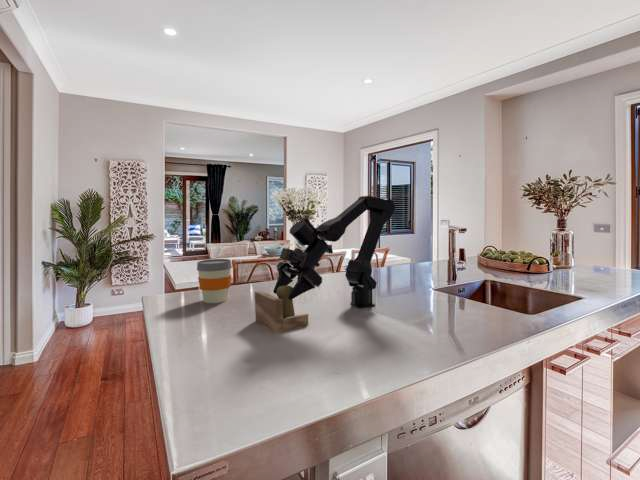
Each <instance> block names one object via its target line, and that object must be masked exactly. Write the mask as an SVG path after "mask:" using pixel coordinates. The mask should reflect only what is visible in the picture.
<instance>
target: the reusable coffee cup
mask: <svg viewBox="0 0 640 480" xmlns="http://www.w3.org/2000/svg"><path fill="white" fill-rule="evenodd" d="M231 269H232V261H231V259H230V258H229V259H227V258H212V259H204V260H199V261H197V263H196V270H197V272H198V277H197V278H198V284H199V289H200V290H201V293H202V298H203V303H205V304H220V303H221V304H222V303H225V302H226V301H229V292H230V288H231V283H232V274H231V272H232V271H231Z"/></svg>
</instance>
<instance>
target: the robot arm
mask: <svg viewBox="0 0 640 480" xmlns="http://www.w3.org/2000/svg"><path fill="white" fill-rule="evenodd" d="M395 210H396V204H395V203H394V201H393V200H392V199H391V198H379V197H374V196H371V195H361V196H359V197H358V198H357V200H356V201H353V203H352V204H351V205H349V206H348V207H347V208H346V209H345V210H343V211H342V212H341V213H340V214H338V215H336V217H334V218H331V219H328V220H326V221H325V222H323V223H321V224H319V225H318V226H317V227H315V226H314V225H313V224H312V222H310V220H309V219H308V218H307V217H303V218H302V219H300V220H298V221H297V222H296V223H294V224H292V226H291V227H290V229H289V234H290V235H291V236H292V237H293V238H294V239H295V240H296V241H297V242H298V243H299V244H300V245H301V246H303V247H304V246H306V247H305V248H304V250H302V249H300V248H298V247H297V248H296V247H295V248H294V249H290V248H285V247H284V248H282V250H281V252H280V255H279V259H281V260H286V261H288V262H286V261H279V262H278V263H277V264H276V266H275V267H276V271H277V273H278V278H277V281H276V283H275V286H274V288H273V291H272V292H273V293H274V294H276V295H277V293H276V291H277V288H278V287H280V286H289V284H291V283H292V282H293V281H294V280H293V279H295V278H297V281H296V283H295V284H294V286H293V287H292V288H293V289H292V291H291V292H290V294H289V296H288V298H289V299H290V300H291V299H292V300H293V299H295V298H297V297H298V296H301V295H302V294H304V293H306V292H308V291H310V290H312V289H315V288H319V287H320V286H321V285H322V283H323V277H322V276H321V275H320V274H319V272H317V271H316V270H315V267H316V268H318V267H319V266H320V264H321V263H319V262H320V260H321V259H322V257H324V255H325V254H333V253H334V250H333V246H332V244H328V243H327V242H332V243H335V242H338V241H340V239H341V237H343V235H344V234H345V233H346V230H347V228H348V227H349V226H350V225H351V224H352V223H353V222H354V221H355V220H356V219H358V218H359V217H360V216H361V215H362V214H363V213H365V212H366V211H369V219H370V220H369V224H368V227H367V229H366V232H365V235H364V238H363V240H362V243H361V245H360V249H359V251H358V254H357V257H356V258H354V259H350V260H349V261H348V262H347V266H346V268H345V270H344V271H345V278H346V280H347V282H348V286H350V287H352V289H351V293H350V294H351V296H350V297H351V298H350V299H351V301H350V305H352V306H354V307H356V308H358V309H359V308H360V309H361V308H366V307H367V308H368V307H373V306H376V303H374V302H373V290H375V289H376V288H377V284H378V283H377V281H376V279H374V278H373V276H372V273H373V271H372V270H373V267H372V259H373V257H374V254H375V250H376V248H377V245H378V242H379V240H380V238H381V234H382V231H383V228H384V226H385V224H387V222H389V220H391V218H392V216H393V214H394V213H395Z"/></svg>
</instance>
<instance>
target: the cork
mask: <svg viewBox="0 0 640 480" xmlns="http://www.w3.org/2000/svg"><path fill="white" fill-rule="evenodd" d="M293 288H294V287H293V286H292V285H287V286H280V287H278V288H277V291H276V297H277V298H279V299H281V300H282V302H283V318H287V317H291V316H296V314H295V308H294V307H295V306H294V302H293V301H294V300H293V299H291V300H290V299H289V298H288V296H289V294H290V292H291V291H292V289H293Z"/></svg>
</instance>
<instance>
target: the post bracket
mask: <svg viewBox="0 0 640 480" xmlns="http://www.w3.org/2000/svg"><path fill="white" fill-rule="evenodd" d="M254 303H255V304H254V306H255V307H254V308H255V309H254V310H255V321H256V322H257V323H259V324H261V325H262V326H263V327H265V328H267V329H269V330H270V331H271V332H273V333H274V334H281V333H284V331H287V330H290V329H295V328H298V327H303V326H307V325H309V314H308V313H306V312H305V313H301V314H295V316H291V317H287V318H283V302H282V300H281V299H279V298H278V296H275V295H271V294H269V293H268V292H265V291H262V290H258V291H257V290H256V291H254Z"/></svg>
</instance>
